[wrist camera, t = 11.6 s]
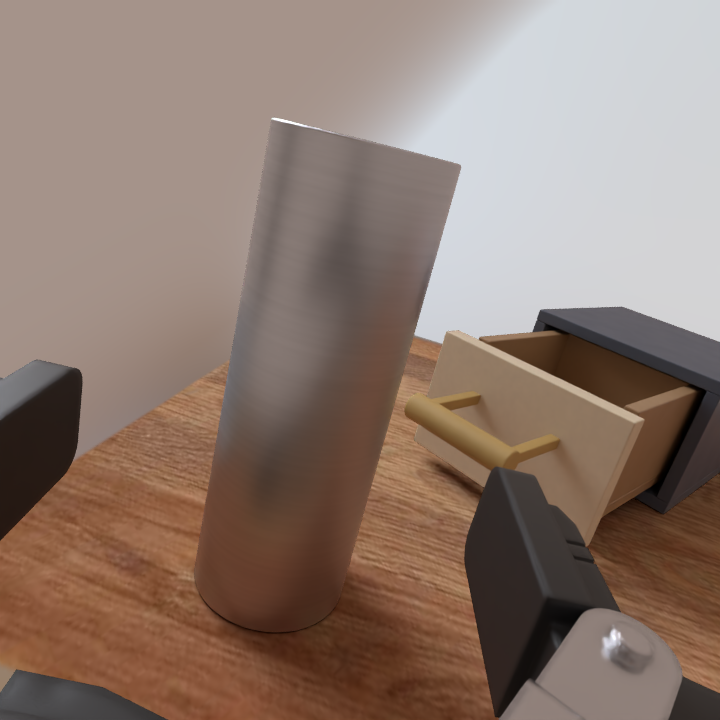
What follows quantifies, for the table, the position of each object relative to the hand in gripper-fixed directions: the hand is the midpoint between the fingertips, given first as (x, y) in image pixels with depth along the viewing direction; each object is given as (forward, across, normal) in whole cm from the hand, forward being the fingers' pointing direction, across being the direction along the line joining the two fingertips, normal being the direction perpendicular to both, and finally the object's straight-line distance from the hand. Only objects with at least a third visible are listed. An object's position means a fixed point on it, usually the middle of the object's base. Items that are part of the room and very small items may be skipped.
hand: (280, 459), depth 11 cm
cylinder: (+10, 0, +11) cm, 15 cm away
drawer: (+21, -13, +10) cm, 27 cm away
